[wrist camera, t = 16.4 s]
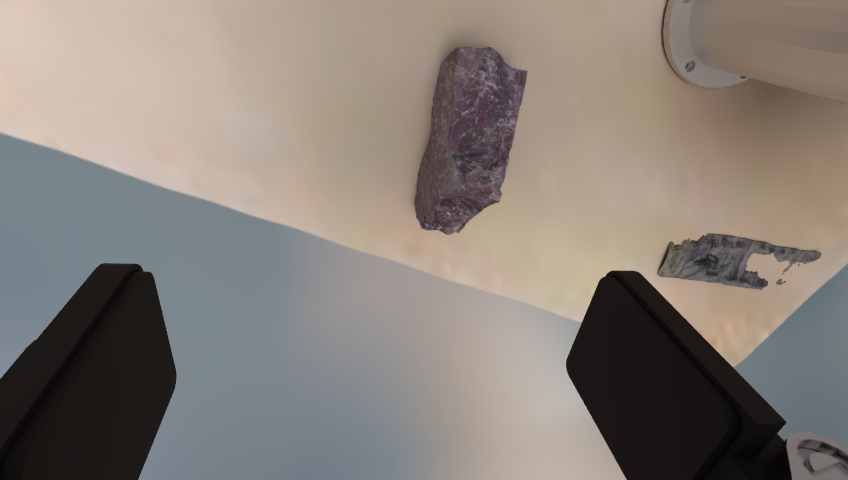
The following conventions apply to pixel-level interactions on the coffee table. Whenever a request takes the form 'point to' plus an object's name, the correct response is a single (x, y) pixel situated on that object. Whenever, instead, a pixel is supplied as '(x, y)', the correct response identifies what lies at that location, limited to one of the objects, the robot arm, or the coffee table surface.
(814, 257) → the grey flat jagged piece
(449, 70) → the stone
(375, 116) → the coffee table surface
